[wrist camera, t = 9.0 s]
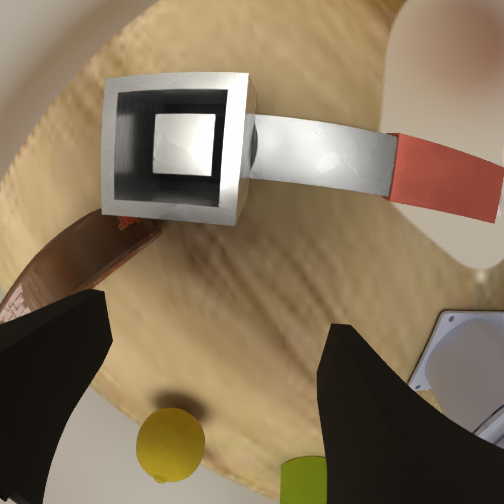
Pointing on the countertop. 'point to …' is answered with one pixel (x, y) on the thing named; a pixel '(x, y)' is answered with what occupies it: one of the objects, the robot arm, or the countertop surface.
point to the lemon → (170, 445)
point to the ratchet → (330, 160)
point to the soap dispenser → (304, 481)
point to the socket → (142, 147)
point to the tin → (77, 260)
